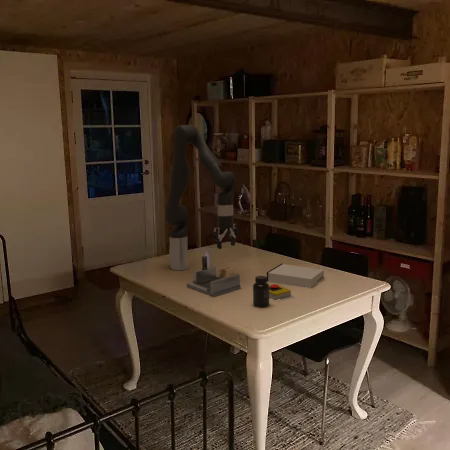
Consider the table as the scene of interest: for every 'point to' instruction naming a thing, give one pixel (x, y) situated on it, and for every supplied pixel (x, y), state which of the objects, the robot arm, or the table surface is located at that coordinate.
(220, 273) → the maple block
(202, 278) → the jaw
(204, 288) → the press
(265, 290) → the supplement bottle
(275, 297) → the emergency button
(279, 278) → the disc drive
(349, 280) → the table surface
